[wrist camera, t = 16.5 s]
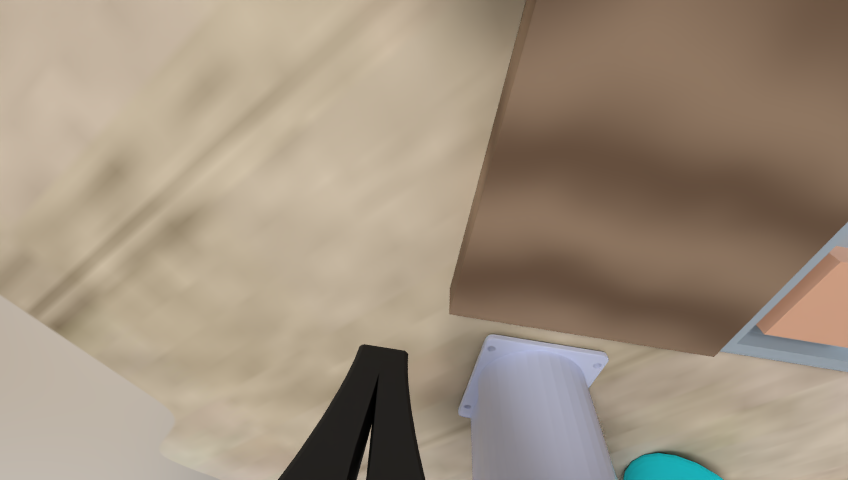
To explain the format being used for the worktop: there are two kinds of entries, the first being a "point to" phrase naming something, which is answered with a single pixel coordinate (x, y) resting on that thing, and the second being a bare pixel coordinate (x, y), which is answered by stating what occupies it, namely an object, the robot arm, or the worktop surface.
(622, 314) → the walnut board
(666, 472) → the ornament
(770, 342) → the box
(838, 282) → the terracotta tile
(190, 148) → the worktop surface
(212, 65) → the worktop surface
